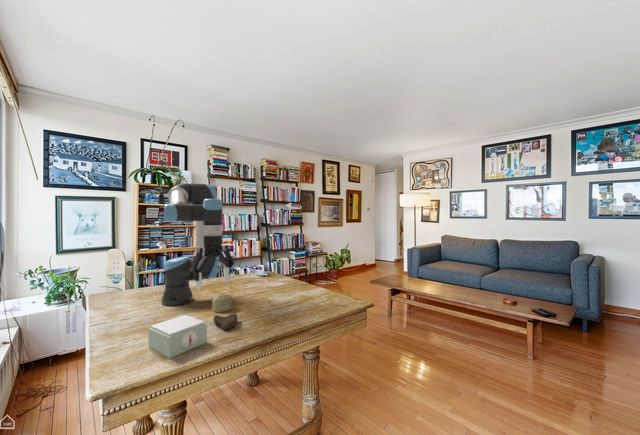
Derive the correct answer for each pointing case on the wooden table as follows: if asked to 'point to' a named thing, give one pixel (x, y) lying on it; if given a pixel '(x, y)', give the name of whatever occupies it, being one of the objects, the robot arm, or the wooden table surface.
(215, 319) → the rock
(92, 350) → the wooden table surface
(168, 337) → the scale
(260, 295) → the wooden table surface
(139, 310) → the wooden table surface
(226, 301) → the decorative object
